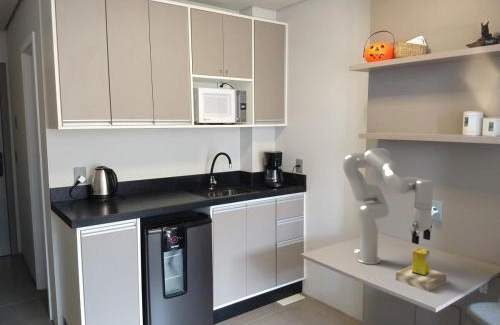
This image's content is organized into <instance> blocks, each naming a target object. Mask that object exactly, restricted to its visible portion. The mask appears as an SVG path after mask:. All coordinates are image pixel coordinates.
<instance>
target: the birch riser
mask: <svg viewBox="0 0 500 325" xmlns="http://www.w3.org/2000/svg"><path fill="white" fill-rule="evenodd" d="M395 280H396V281H398V282H400V283H401V282H402V283H404V284H406V285H408V286H412V287H415V288H417V289H421V290H424V291H426V292H430V291H432V290H435V289H436V288H437V287H440V286H442V285H443V284H446V283H447V273H445V272H441V271H437V270H434V269H431V268H429V273H428V274H427V275H425V276H422V275H418V274H414V273H412V264H411V265H409V266H407V267H405V268H402V269H399V270H398V271H397V270H396V271H395ZM431 289H432V290H431Z"/></svg>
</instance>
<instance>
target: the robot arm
mask: <svg viewBox="0 0 500 325" xmlns="http://www.w3.org/2000/svg"><path fill="white" fill-rule="evenodd" d="M342 163H343V164H342V167H343V171H344V174H345V176H346V178H347V179H348V182H349V184H350V187H351V190H352V193H353V196H354V198H355V200H356V201H357V202H358V203H365V204H363V205H361V206H360V207H359V209H358V211H357V214H358V219H359V249H358V248H356V249H355V250H354V254H356V255H357V256H356V262H359V263H361V264H365V265H377V264H380V263H381V261H382V260H381V258H380V257H379V255H378V254H379V227H378V225H377V223H376V221H379V220H383V219H386V218H387V217H388V216H389V212H390V211H389V206H388V204H387V200H386V198H385V196H384V193H383V191H382V189H381V187H380V186H379V185H378V184H376V183H370V184H369V183H367V181H366V178H365V176H364V174H363V173H362V172H361V171H360V170H359V169H366V168H367V169H368V168H370V167H371V168H373V169H374V170H376V171H377V172H378V173H380V174H381V175H382V178H383V181H384V182H385V184H386V185H387V186H388V187H389V188H390V189H391V190H393V191H394V192H395V193H397V194H401V195H403V194H405V195H406V194H411V193H414V205H413V212H412V215H411V224H410V232H411V243H412V244H415V245H419V244H420V235H419V234H420V233H421V232H423V233H422V236H423V237H422V238H423V240H427V241H430V240H431V232H432V228H433V224H434V221H433V220H432V214H433V213H432V210H433V209H432V208H433V195H434V182H433V181H432V180H431V179H424V178H420V177H417V176H408V177H401V176H399V175H398V174H396V173H395V172H394V171H395V169H396V162H394V161H393V160H391V152H390V151H389V150H388V149H386V148H384V147H380V148H378V147H377V148H371V149H368V150H366V151H365V152H356V153H350V154H348V155H346V156H345V158H344V160H343V162H342ZM366 202H367V203H366ZM368 202H370V203H368Z"/></svg>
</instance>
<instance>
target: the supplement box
mask: <svg viewBox="0 0 500 325" xmlns="http://www.w3.org/2000/svg"><path fill="white" fill-rule="evenodd" d="M411 263H412V264H411V265H412V273H414V274H418V275H422V276H425V275H427V274H428V273H429V269H430V250H429V249H423V248H419V247H417V248H415V249H414V250H412V262H411Z"/></svg>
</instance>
